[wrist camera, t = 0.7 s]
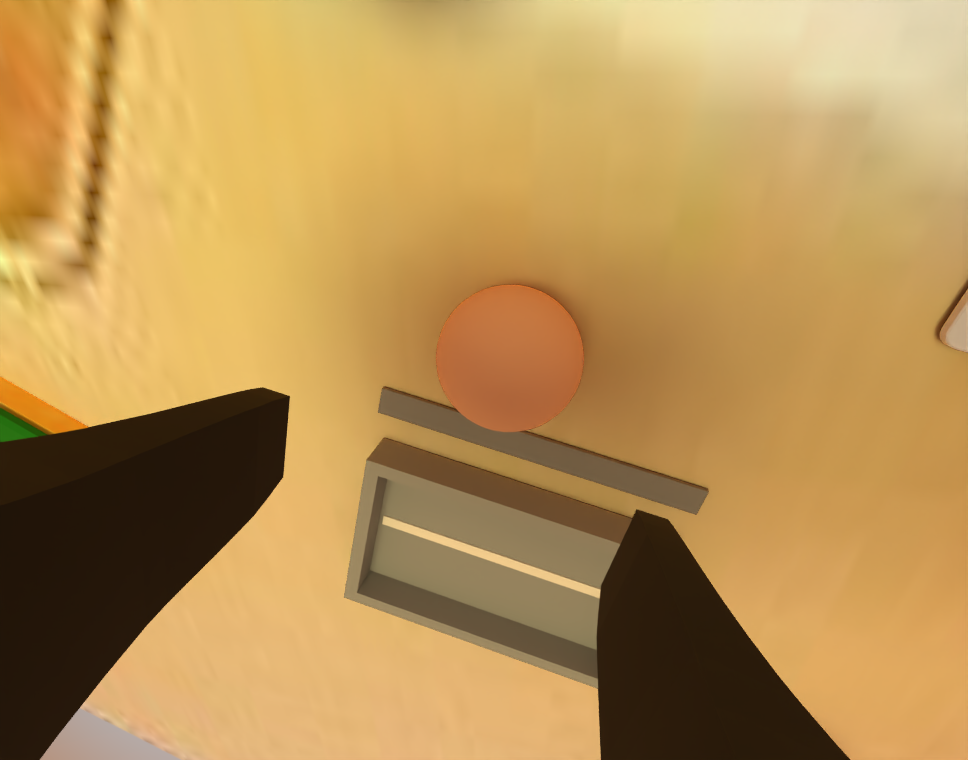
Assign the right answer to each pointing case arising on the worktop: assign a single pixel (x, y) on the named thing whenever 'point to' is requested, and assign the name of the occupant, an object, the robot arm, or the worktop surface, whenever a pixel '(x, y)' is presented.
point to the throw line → (545, 452)
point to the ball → (509, 358)
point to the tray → (483, 558)
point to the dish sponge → (29, 415)
